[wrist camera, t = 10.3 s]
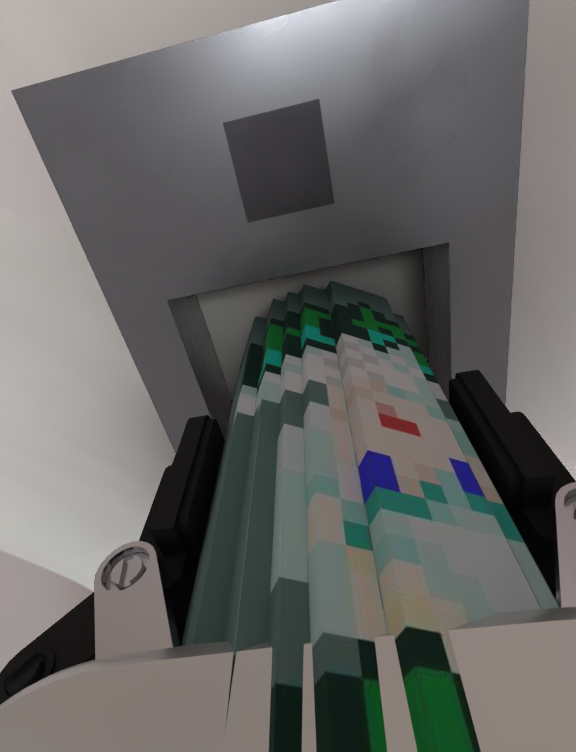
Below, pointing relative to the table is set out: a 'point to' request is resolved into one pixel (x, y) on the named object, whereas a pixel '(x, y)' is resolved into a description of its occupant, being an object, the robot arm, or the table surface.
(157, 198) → the rail plate
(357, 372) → the can
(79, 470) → the table surface
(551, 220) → the table surface
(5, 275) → the table surface
